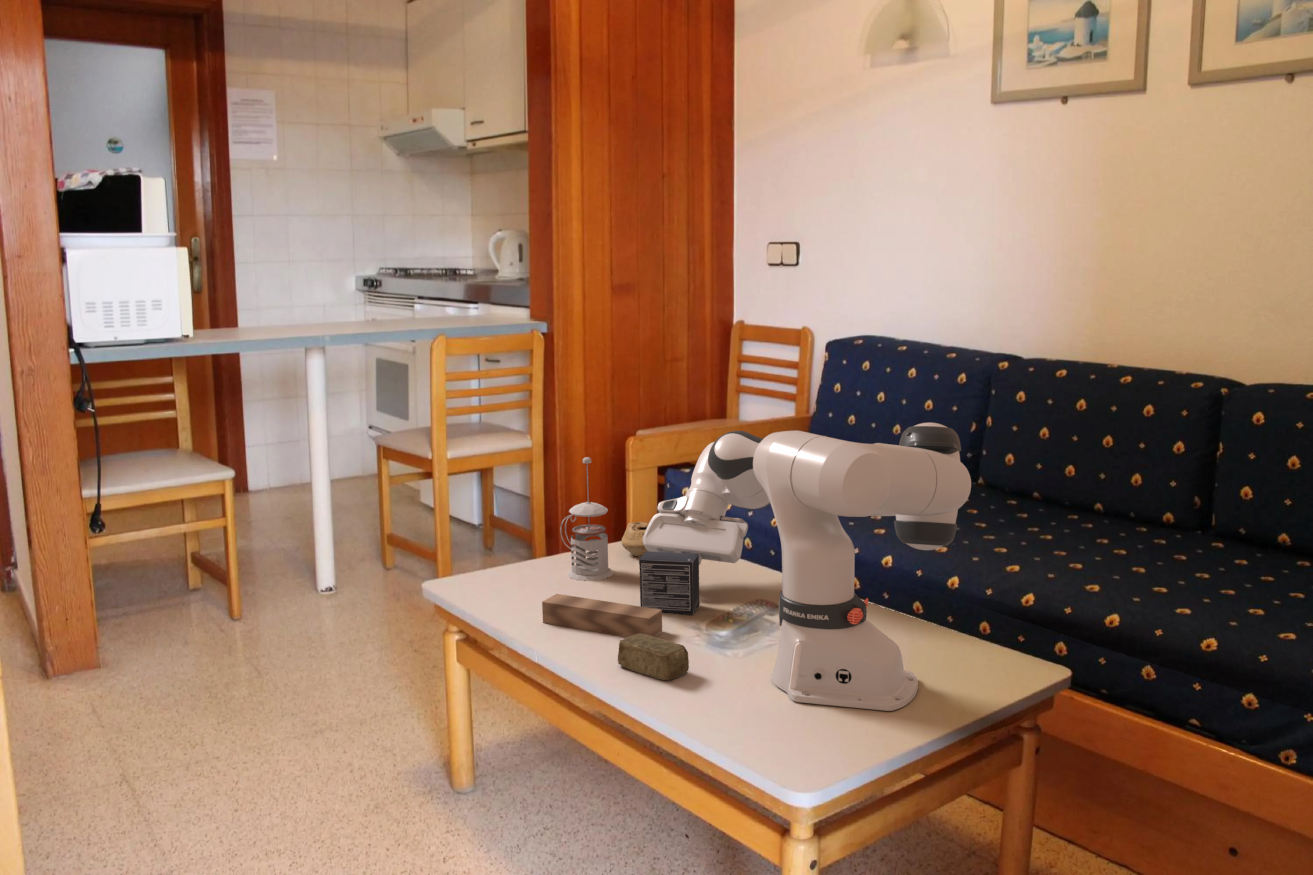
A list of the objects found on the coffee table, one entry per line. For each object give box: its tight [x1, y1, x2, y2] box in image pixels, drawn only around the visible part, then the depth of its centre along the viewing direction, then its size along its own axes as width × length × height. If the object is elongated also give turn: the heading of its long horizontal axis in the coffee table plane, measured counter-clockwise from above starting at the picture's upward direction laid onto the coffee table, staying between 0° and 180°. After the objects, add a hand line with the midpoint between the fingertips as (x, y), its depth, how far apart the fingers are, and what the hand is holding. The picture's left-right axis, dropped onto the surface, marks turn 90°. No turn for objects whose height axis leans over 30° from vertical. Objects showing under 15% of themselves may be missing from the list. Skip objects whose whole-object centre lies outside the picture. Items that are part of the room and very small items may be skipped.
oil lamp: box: [621, 521, 649, 558], centre depth 240 cm, size 11×15×8 cm
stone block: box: [617, 633, 690, 681], centre depth 174 cm, size 6×12×5 cm, turn 50°
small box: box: [638, 551, 701, 616], centre depth 203 cm, size 11×6×10 cm, turn 77°
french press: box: [559, 456, 614, 582], centre depth 225 cm, size 10×12×25 cm
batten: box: [541, 593, 663, 638], centre depth 194 cm, size 22×5×4 cm, turn 63°
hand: (681, 575), depth 208 cm, fingers closed
